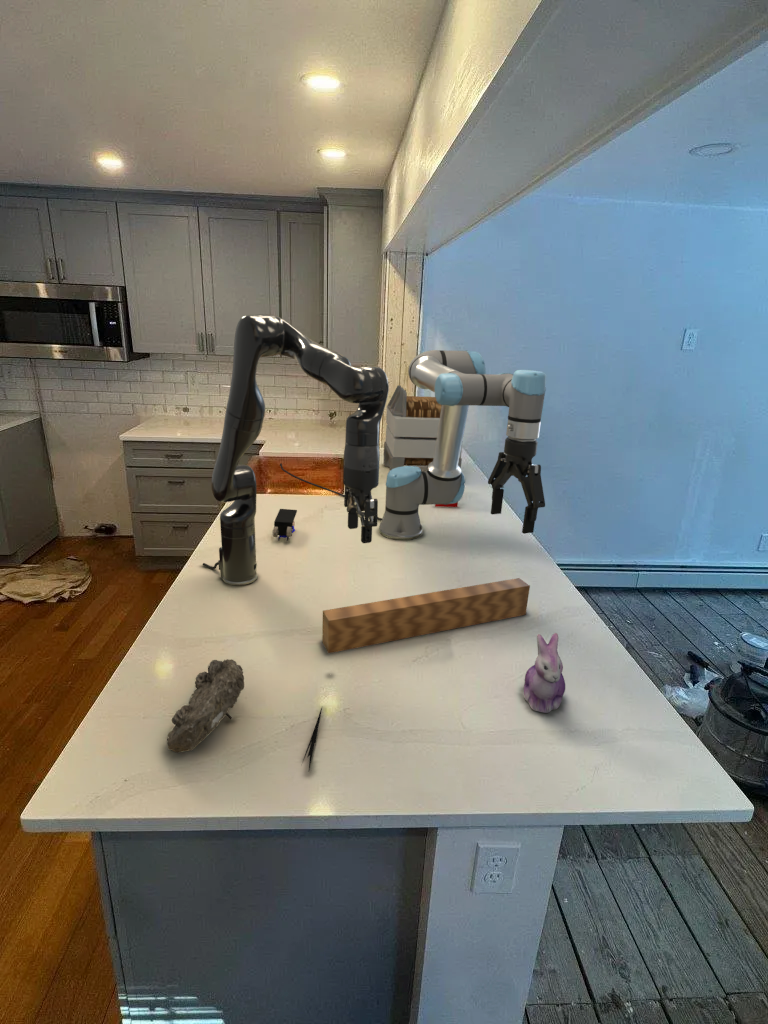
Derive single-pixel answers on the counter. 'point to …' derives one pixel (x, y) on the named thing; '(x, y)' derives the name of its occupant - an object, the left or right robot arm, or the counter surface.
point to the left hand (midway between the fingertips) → (359, 535)
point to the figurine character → (284, 523)
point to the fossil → (206, 705)
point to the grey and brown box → (411, 430)
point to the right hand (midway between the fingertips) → (511, 522)
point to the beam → (422, 614)
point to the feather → (313, 740)
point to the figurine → (545, 677)
